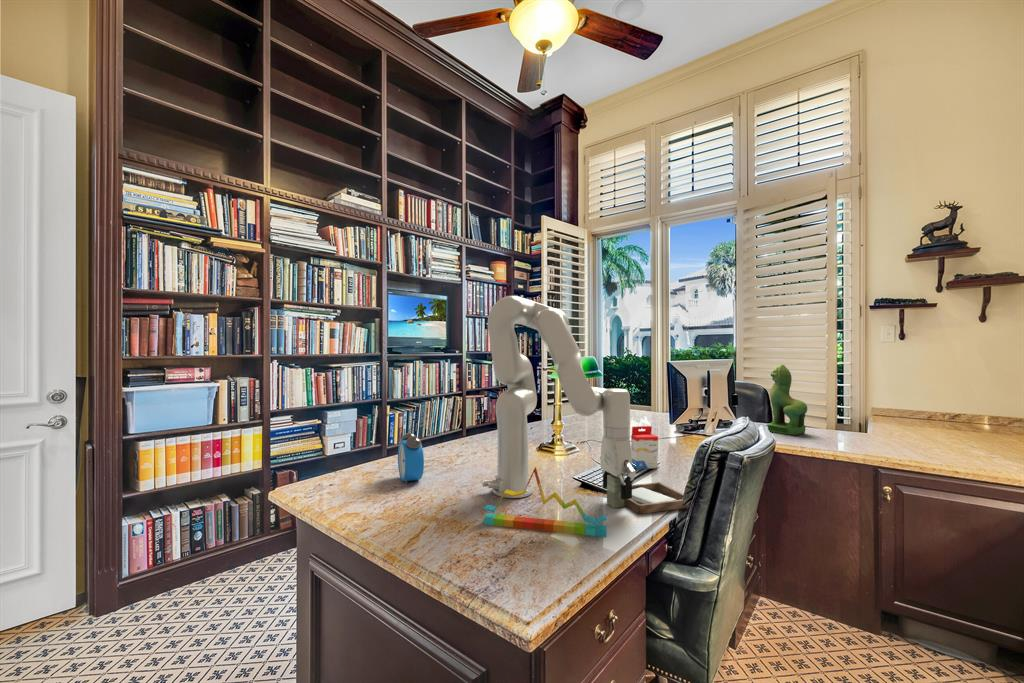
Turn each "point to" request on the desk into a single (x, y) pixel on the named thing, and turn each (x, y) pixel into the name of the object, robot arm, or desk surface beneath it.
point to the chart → (546, 523)
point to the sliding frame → (616, 501)
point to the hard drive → (648, 496)
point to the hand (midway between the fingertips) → (616, 492)
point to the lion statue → (785, 405)
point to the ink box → (644, 448)
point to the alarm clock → (410, 458)
